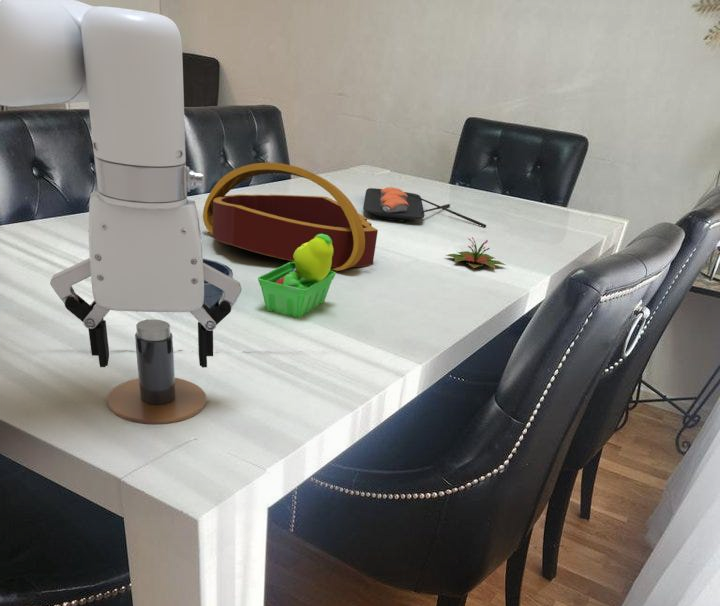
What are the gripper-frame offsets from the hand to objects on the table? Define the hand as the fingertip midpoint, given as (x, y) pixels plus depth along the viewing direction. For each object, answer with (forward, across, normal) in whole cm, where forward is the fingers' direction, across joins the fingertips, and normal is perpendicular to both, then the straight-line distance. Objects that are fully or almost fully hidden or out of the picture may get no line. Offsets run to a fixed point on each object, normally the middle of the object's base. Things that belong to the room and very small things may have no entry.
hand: (154, 361), depth 66 cm
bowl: (+4, -4, -32) cm, 33 cm away
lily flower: (+5, -60, -56) cm, 82 cm away
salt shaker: (+4, 0, 0) cm, 4 cm away
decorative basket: (+5, -22, -58) cm, 62 cm away
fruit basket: (+5, -20, -28) cm, 35 cm away
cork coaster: (+4, 0, 0) cm, 5 cm away
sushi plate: (+5, -63, -97) cm, 116 cm away
